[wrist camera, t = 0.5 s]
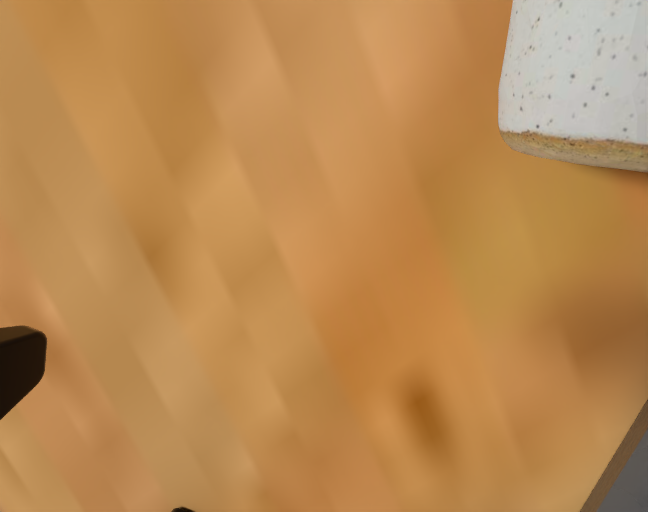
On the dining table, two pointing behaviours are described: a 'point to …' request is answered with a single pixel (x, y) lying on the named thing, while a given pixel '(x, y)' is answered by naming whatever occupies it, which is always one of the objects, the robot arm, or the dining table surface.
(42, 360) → the robot arm
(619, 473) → the metal square socket base
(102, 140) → the dining table surface
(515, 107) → the ceramic mug
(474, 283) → the dining table surface
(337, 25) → the dining table surface
